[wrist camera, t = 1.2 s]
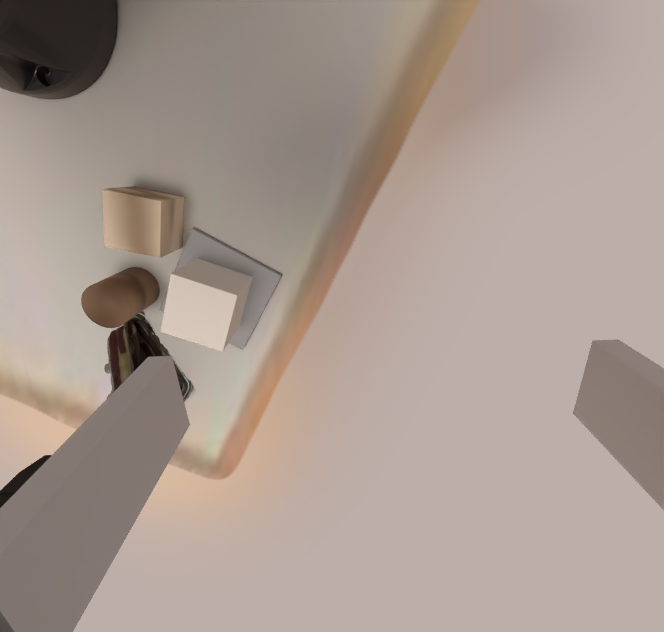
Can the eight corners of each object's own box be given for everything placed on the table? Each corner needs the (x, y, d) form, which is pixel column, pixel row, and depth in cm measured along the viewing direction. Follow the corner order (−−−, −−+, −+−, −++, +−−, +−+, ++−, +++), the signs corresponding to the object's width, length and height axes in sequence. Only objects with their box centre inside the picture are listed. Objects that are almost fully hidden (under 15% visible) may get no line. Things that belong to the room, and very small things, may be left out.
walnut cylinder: (113, 294, 39) (76, 314, 34) (125, 259, 38) (88, 275, 32) (152, 312, 40) (121, 335, 34) (164, 279, 38) (135, 298, 33)
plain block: (186, 308, 39) (160, 331, 33) (196, 258, 37) (170, 273, 31) (239, 325, 39) (222, 351, 34) (252, 276, 37) (237, 295, 32)
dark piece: (88, 319, 41) (66, 428, 37) (127, 305, 38) (107, 421, 34) (161, 339, 49) (150, 430, 45) (197, 328, 46) (189, 425, 41)
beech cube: (134, 236, 37) (104, 246, 32) (133, 186, 35) (102, 188, 30) (182, 246, 37) (160, 257, 32) (184, 197, 35) (161, 201, 30)
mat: (162, 307, 40) (159, 309, 39) (194, 227, 36) (191, 228, 36) (244, 347, 41) (242, 349, 41) (282, 274, 38) (281, 276, 37)
